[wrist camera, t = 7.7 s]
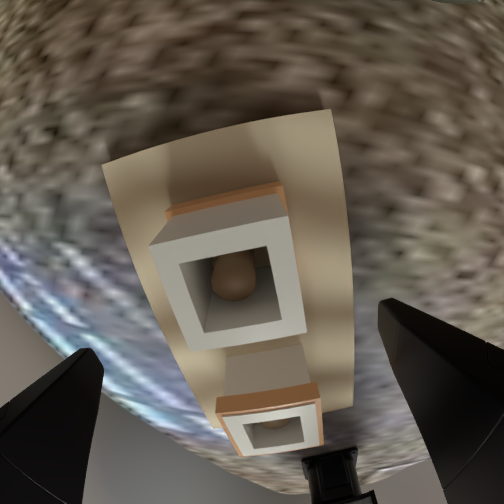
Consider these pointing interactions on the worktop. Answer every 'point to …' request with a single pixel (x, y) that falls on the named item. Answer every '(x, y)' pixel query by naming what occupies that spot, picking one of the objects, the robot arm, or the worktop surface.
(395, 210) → the worktop surface
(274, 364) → the seated sleeve
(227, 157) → the pin board
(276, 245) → the sleeve
